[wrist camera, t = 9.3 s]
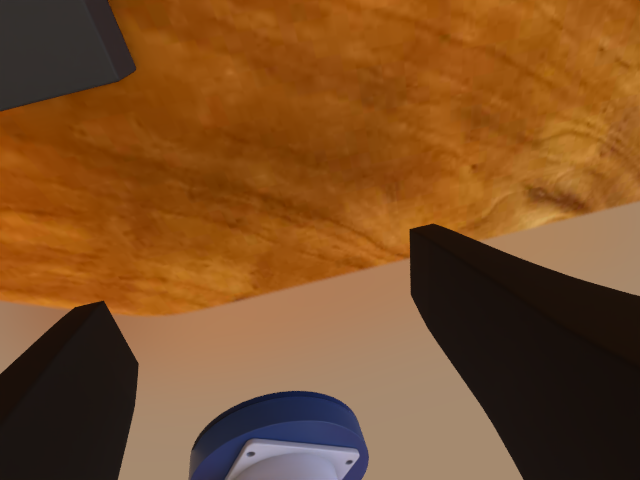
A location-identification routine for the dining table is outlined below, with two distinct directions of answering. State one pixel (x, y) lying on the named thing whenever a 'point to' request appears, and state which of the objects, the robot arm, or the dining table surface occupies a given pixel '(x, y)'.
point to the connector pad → (58, 49)
